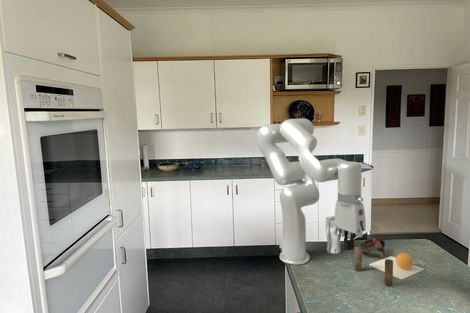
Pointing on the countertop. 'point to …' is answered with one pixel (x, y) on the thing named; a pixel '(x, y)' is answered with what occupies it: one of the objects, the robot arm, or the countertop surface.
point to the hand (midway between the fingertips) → (348, 249)
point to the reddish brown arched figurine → (371, 246)
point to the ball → (404, 261)
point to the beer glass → (332, 236)
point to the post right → (388, 273)
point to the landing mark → (397, 268)
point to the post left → (358, 259)
